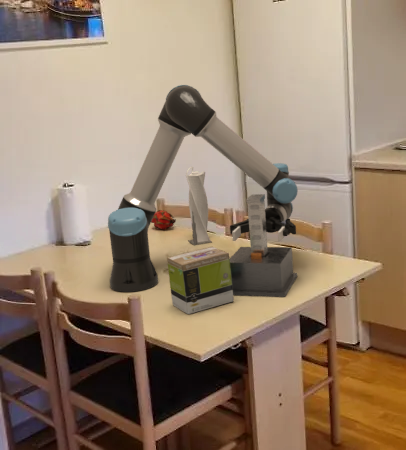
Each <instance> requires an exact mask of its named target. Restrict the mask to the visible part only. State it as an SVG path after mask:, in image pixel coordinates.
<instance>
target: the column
mask: <svg viewBox="0 0 406 450" xmlns="http://www.w3.org/2000/svg"><path fill="white" fill-rule="evenodd" d="M265 199H266V194H261V193H260V194H259V193H258V194H254V193H253V194H250V195H249V196H248V197H247V198H246V199H245V200H246V204H247V213H248V217H247V218H248V219H249V231H250V232H249V241H250V243H249V244H250V247H251V253H262V257H267V255H268V248H267V247H268V238H267V236H268V235H267V233H268V232H266V218H265V209H266V207H265V206H266V205H265V203H266V202H265Z"/></svg>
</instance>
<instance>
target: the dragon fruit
mask: <svg viewBox="0 0 406 450" xmlns="http://www.w3.org/2000/svg"><path fill="white" fill-rule="evenodd" d="M176 221H177V220H176V219H175V217H174V216H173V214H171V213H170V212H168V211H166V210H164V209H158V210H156V212H155V214H154V217H153V219H152V221H151V223H150V224H153V226H154V229H155V230H157V229H161V230H162V231H169V228H170V227H171V228H173V227H174V224H175V223H176Z"/></svg>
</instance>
